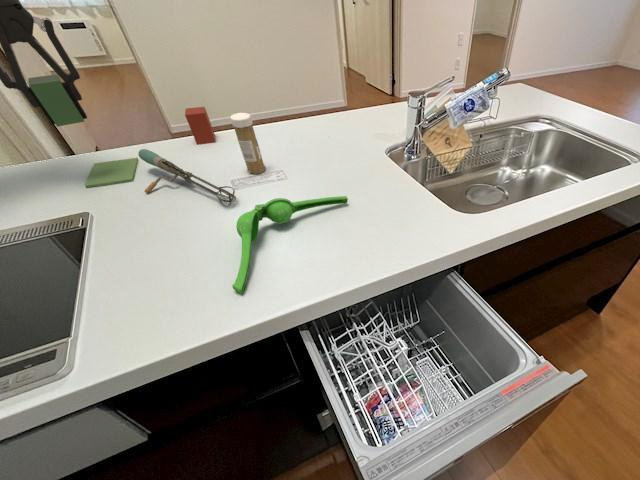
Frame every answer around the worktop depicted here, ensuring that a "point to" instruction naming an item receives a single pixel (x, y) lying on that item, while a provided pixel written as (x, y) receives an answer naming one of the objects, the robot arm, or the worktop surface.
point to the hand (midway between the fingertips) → (69, 119)
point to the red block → (200, 125)
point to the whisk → (172, 168)
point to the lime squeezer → (278, 213)
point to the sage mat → (112, 172)
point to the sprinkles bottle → (248, 142)
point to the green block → (55, 99)
